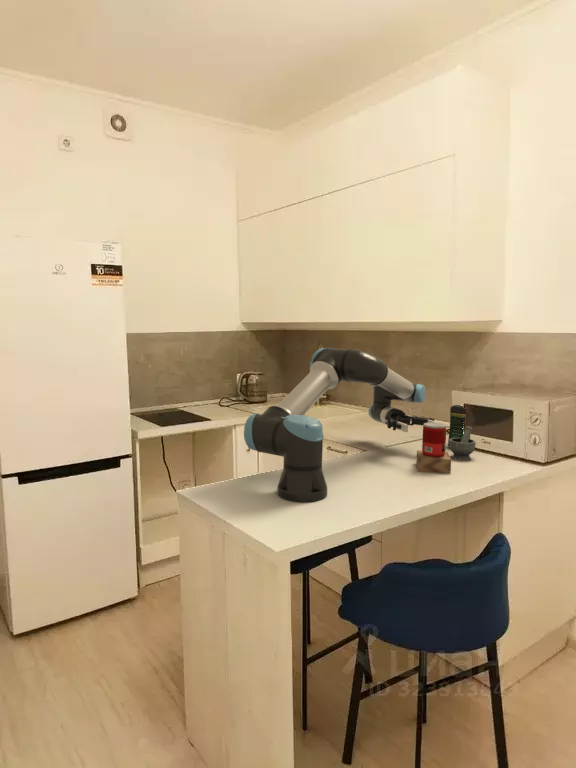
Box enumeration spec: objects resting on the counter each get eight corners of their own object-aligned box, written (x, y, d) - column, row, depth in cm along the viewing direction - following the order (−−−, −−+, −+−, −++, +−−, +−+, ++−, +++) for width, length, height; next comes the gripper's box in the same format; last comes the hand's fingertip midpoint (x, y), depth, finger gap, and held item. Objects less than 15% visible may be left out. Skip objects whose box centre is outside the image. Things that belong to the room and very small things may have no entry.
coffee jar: (464, 451, 220) (466, 406, 218) (445, 448, 225) (447, 404, 223) (472, 447, 228) (475, 403, 225) (454, 444, 233) (456, 401, 230)
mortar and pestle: (466, 462, 203) (468, 431, 201) (443, 457, 209) (445, 427, 208) (480, 457, 211) (481, 427, 209) (457, 452, 217) (459, 423, 216)
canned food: (447, 457, 190) (449, 426, 188) (424, 457, 190) (426, 426, 188) (441, 452, 197) (443, 422, 196) (419, 451, 197) (421, 422, 196)
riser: (418, 471, 190) (418, 457, 189) (416, 463, 200) (416, 450, 200) (450, 473, 188) (451, 459, 187) (447, 465, 198) (447, 451, 198)
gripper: (419, 424, 224) (450, 435, 204) (365, 428, 216) (392, 439, 196) (420, 406, 223) (451, 415, 204) (366, 409, 215) (393, 419, 195)
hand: (423, 427), depth 200 cm, fingers open, 13 cm apart
